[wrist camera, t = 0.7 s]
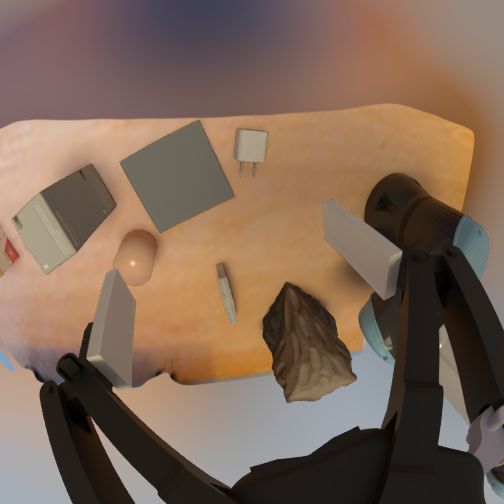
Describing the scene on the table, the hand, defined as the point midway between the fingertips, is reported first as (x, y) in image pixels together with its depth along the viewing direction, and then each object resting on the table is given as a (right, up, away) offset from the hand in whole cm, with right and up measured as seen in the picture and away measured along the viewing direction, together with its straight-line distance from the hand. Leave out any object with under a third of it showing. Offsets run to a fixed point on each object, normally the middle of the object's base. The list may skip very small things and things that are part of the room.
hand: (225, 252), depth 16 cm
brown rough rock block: (+10, -11, +39) cm, 42 cm away
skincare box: (-24, +9, +20) cm, 33 cm away
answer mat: (-10, +11, +22) cm, 27 cm away
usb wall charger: (+1, +15, +23) cm, 27 cm away
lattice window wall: (-3, -7, +34) cm, 35 cm away
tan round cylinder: (-17, +1, +26) cm, 31 cm away
